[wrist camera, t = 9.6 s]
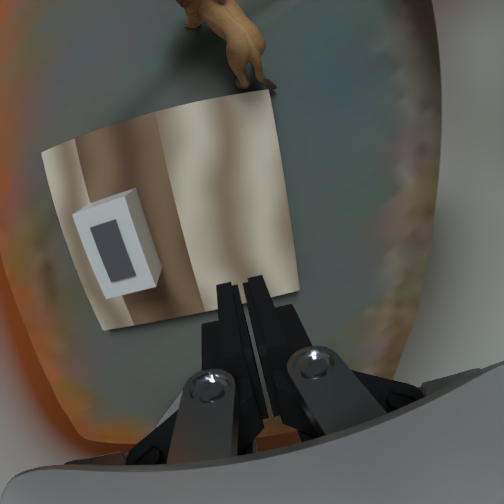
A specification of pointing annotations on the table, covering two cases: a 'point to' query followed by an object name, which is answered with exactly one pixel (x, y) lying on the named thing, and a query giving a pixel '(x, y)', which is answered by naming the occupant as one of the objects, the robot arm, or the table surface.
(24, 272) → the table surface
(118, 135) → the plywood board
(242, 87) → the lion figurine
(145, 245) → the block
